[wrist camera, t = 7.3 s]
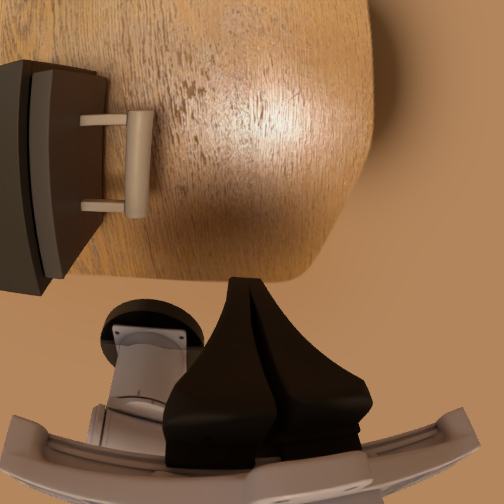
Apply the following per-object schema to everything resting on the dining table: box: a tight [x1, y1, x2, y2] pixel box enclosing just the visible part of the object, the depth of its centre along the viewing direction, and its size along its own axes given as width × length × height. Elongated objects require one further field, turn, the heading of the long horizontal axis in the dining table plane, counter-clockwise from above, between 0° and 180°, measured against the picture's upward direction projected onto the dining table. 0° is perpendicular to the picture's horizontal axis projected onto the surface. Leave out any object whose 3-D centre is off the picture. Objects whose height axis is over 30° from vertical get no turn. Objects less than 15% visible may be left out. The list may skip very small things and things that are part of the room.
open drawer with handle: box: [27, 69, 154, 279], centre depth 13 cm, size 18×10×8 cm, turn 82°
